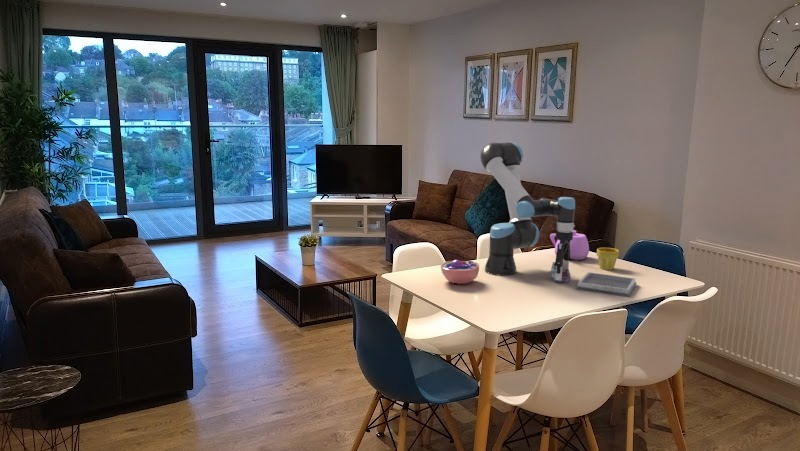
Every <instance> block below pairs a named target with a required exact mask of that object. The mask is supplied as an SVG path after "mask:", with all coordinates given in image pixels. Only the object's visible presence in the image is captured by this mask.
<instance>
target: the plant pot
mask: <svg viewBox="0 0 800 451" xmlns="http://www.w3.org/2000/svg"><path fill="white" fill-rule="evenodd" d="M619 254H620V251H619V249H617V248H612V247H598V248H597V249H596V256H597V258H598V265H599V269H600V270H604V271H613V270H614V268H615V265H616V262H617V259H618V258H619Z"/></svg>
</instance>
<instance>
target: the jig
mask: <svg viewBox="0 0 800 451" xmlns="http://www.w3.org/2000/svg"><path fill="white" fill-rule="evenodd" d="M636 281H637V280H636V278H635V277H627V276H619V275H614V274H613V275H612V274H606V273H605V274H604V273H599V272H597V273H596V272H589V271H588V272H587V273H586V274H585V275H584V276H582V278H581V279H580V280H579V281H578V283H577V285H576V286H575V287H576V288H575V289H576V290H579V291H587V292H591V293H592V292H593V293H601V294H607V295H612V296H618V297H619V296H620V297H625V298H630V297H631V295H632V294H633V292H634V290H635V288H636V287H637V282H638V281H637V282H636ZM632 291H633V292H632Z"/></svg>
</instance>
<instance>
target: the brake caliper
mask: <svg viewBox="0 0 800 451" xmlns="http://www.w3.org/2000/svg"><path fill="white" fill-rule="evenodd" d="M554 264H555V261H553V262H552V264H551V268H550V270H549V272H548V273H549V274H550V275H549V276H550V277H549V279H552V280H553V281H554V282H555V283H557V284H558V283H559V284H560V283H564V284H566V283H570V282H571V279H572V277H571V273H570V269H569V268H568V269H566V272H563V271H562V280H561V281H560V280H555V274H556V266H554ZM562 270H563V262H562Z"/></svg>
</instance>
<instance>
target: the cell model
mask: <svg viewBox="0 0 800 451" xmlns="http://www.w3.org/2000/svg"><path fill="white" fill-rule="evenodd" d="M439 267H440V269H441V273H442V275H443V276H444V278H445V279H446V280H447V281H448V282H450V283H451V282H452V284H454V283H457V284H456V285H464V284H469V283H470V282H472V281H473V280H475V279H477V277H478V276H479V271H480V264H479V263H478V262H475V261H473V260H470V259H469V260H459V259H454V260H449V261H444V262H443V263H442V264H441V265H440V266H439Z"/></svg>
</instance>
